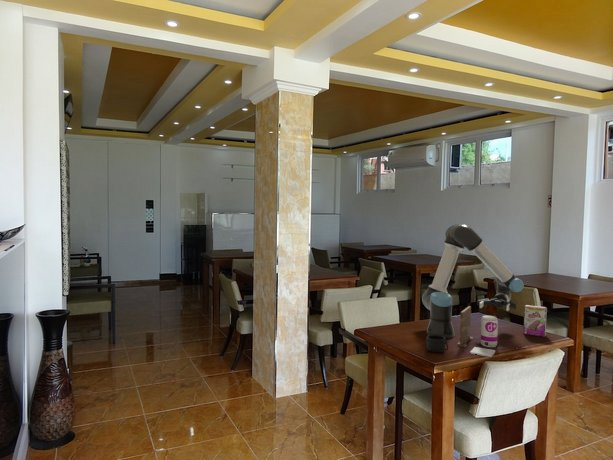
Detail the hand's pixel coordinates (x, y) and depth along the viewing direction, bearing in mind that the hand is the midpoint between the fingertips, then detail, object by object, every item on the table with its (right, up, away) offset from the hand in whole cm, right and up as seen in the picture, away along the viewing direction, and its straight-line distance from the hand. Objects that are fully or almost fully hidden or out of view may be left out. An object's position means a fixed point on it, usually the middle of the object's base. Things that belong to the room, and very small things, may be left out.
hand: (493, 306), depth 242 cm
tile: (-13, -19, -19) cm, 30 cm away
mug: (-35, -20, -18) cm, 44 cm away
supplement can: (-5, -19, -7) cm, 21 cm away
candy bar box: (+29, -19, +14) cm, 37 cm away
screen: (-16, -19, -2) cm, 25 cm away
